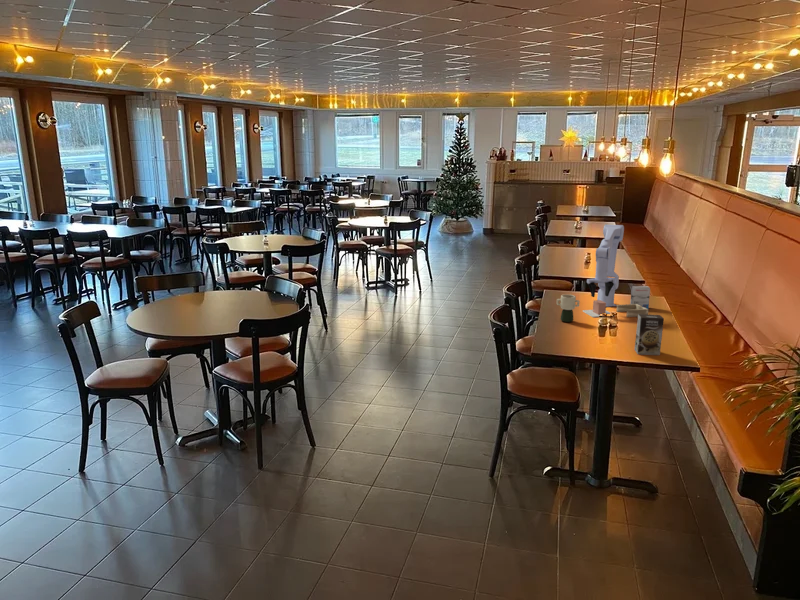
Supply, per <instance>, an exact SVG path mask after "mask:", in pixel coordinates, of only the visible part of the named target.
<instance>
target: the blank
mask: <svg viewBox="0 0 800 600" xmlns="http://www.w3.org/2000/svg"><path fill="white" fill-rule="evenodd" d="M606 309H607V307H606V303H605V302H603V301H601V300H596V299H595V300H594V299H593V300H592V310H593V312H594V313H596V314H598V315H600V314H602V313H605V312H606V311H607V310H606Z"/></svg>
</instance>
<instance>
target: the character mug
mask: <svg viewBox="0 0 800 600" xmlns="http://www.w3.org/2000/svg"><path fill="white" fill-rule="evenodd" d="M576 298H577V297H576V295H573V294H561V295H560V298H556V305H557V306H560V308H561V314H560V320H561V321H562V322H566V323H567V322H568V323H569V322H574V311H573V310H574V309H576V308H577V307H578V308H579V307H580V303H581V302H580V300H578V299H576ZM576 303H577V304H576Z"/></svg>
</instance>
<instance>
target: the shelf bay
mask: <svg viewBox="0 0 800 600" xmlns="http://www.w3.org/2000/svg"><path fill="white" fill-rule="evenodd" d="M616 305H617V306H616V312H617V313H621V312H626V316H625V317H626V318H634V317H635V318H638V314H648V315H649V308H648V309H646V308H644V307H642V306H640V305H638V304H630V303H628V304H616Z"/></svg>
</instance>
